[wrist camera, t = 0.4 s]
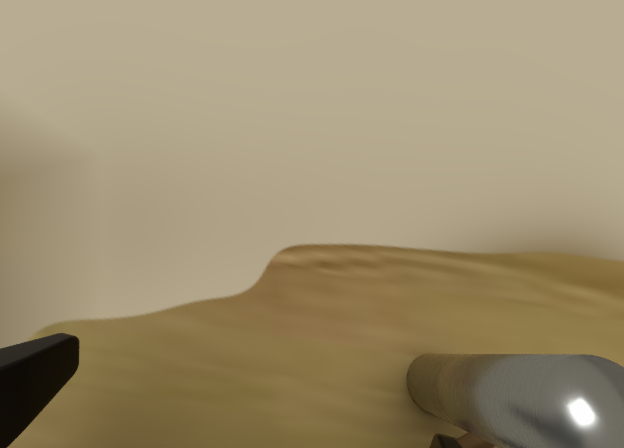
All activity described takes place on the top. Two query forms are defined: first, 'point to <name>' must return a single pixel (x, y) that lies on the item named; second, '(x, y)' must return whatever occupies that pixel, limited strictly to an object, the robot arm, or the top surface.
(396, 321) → the top surface
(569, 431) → the metal pin
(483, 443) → the socket block
